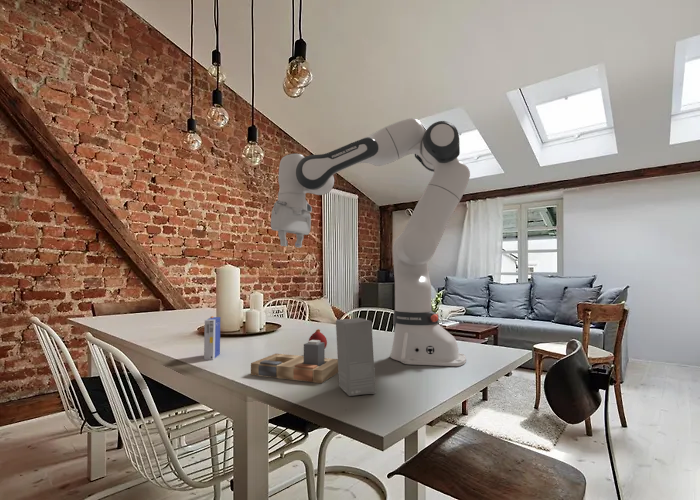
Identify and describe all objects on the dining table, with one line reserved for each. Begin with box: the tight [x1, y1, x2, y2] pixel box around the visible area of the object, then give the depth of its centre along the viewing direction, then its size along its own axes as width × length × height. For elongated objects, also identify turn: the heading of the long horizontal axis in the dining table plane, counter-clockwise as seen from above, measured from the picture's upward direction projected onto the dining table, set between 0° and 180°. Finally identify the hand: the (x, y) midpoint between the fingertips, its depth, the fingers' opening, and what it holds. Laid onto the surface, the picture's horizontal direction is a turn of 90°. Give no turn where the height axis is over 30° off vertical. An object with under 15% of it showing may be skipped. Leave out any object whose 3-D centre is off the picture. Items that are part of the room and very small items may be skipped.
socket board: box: [250, 353, 338, 384], centre depth 102 cm, size 20×12×3 cm, turn 69°
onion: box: [308, 328, 328, 349], centre depth 123 cm, size 6×6×8 cm
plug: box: [303, 340, 326, 366], centre depth 100 cm, size 4×4×9 cm
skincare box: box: [335, 317, 377, 397], centre depth 88 cm, size 8×7×16 cm
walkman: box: [203, 315, 221, 361], centre depth 120 cm, size 8×3×12 cm, turn 4°
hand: (291, 246), depth 127 cm, fingers open, 8 cm apart
